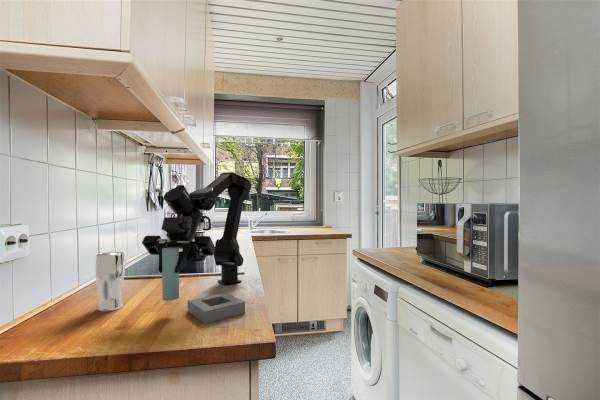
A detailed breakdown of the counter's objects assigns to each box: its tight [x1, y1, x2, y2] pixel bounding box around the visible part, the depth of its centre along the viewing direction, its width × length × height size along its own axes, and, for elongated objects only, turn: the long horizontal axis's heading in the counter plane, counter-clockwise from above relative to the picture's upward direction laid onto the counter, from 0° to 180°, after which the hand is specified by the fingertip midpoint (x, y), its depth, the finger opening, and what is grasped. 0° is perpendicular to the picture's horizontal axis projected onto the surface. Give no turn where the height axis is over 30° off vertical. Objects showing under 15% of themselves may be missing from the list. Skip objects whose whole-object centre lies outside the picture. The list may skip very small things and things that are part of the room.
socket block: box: [187, 292, 246, 325], centre depth 84 cm, size 11×11×3 cm
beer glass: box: [95, 251, 126, 313], centre depth 88 cm, size 7×7×15 cm
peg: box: [161, 247, 180, 302], centre depth 83 cm, size 4×4×13 cm
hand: (167, 272), depth 82 cm, fingers closed on peg, 4 cm apart
